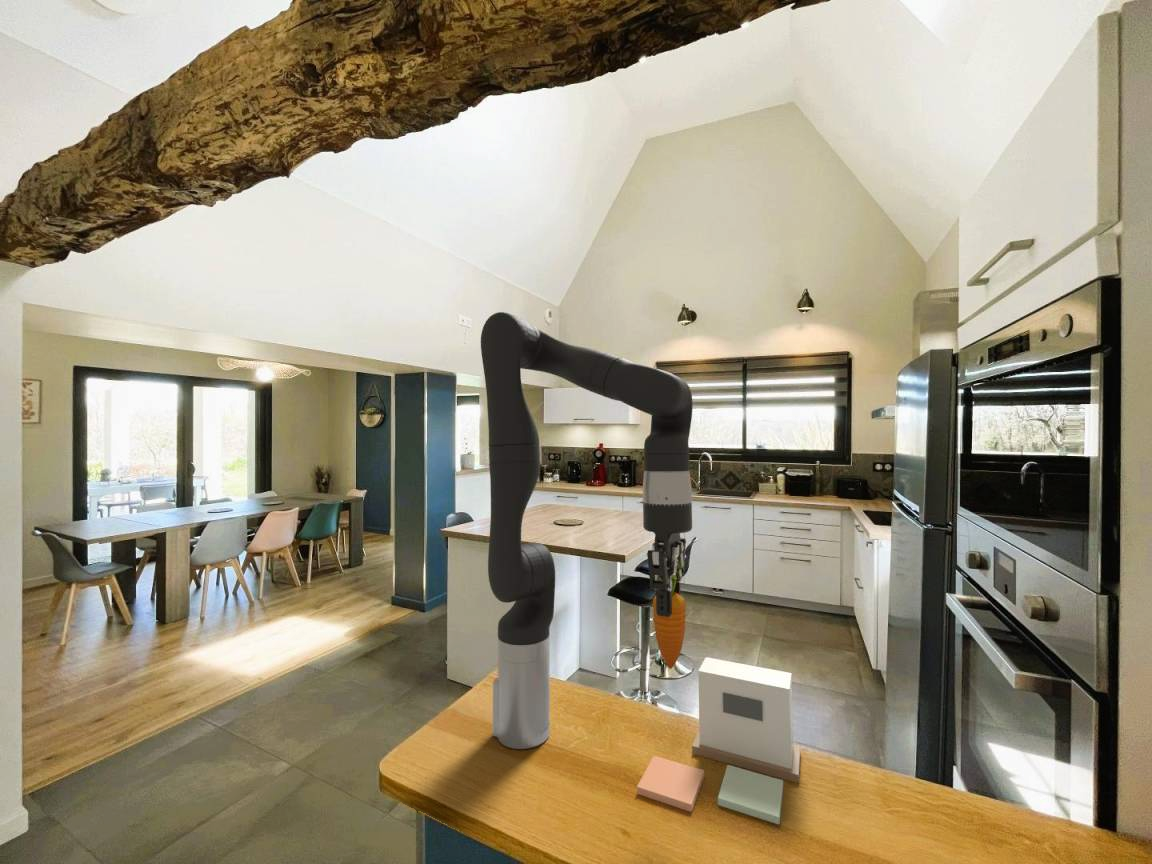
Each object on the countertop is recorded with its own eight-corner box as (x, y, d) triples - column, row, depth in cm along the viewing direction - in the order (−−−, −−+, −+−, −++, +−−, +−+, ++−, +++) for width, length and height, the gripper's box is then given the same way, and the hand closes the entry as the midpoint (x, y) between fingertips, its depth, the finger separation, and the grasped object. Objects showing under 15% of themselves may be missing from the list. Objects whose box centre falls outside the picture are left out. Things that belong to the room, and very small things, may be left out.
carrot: (687, 677, 70) (685, 574, 71) (653, 674, 71) (651, 573, 72) (686, 662, 75) (684, 566, 76) (654, 660, 76) (652, 565, 77)
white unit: (692, 753, 79) (691, 672, 79) (702, 728, 86) (701, 653, 87) (798, 783, 72) (796, 693, 72) (800, 753, 79) (798, 671, 79)
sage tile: (717, 805, 67) (717, 797, 67) (727, 771, 74) (727, 764, 74) (779, 824, 64) (779, 817, 64) (783, 787, 71) (783, 780, 71)
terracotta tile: (637, 793, 70) (636, 786, 70) (653, 762, 77) (653, 755, 77) (691, 812, 66) (691, 804, 66) (704, 777, 73) (704, 770, 73)
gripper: (679, 505, 67) (681, 629, 66) (700, 497, 79) (702, 600, 79) (628, 503, 70) (630, 621, 69) (656, 495, 83) (658, 595, 82)
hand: (668, 609), depth 74 cm, fingers closed on carrot, 4 cm apart
